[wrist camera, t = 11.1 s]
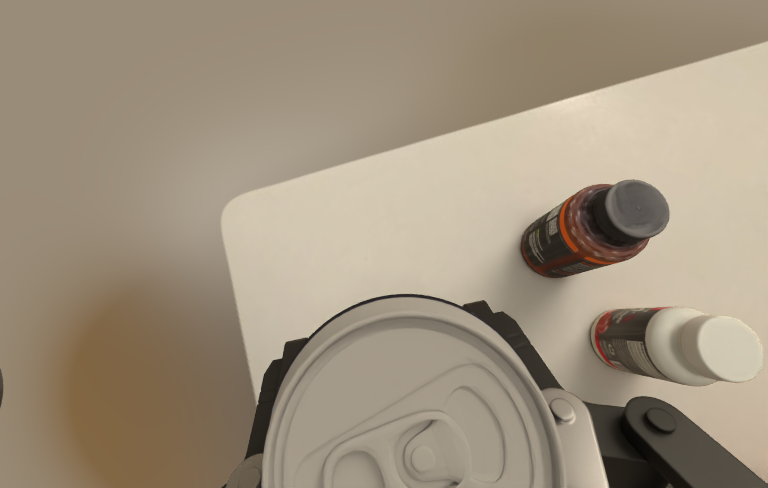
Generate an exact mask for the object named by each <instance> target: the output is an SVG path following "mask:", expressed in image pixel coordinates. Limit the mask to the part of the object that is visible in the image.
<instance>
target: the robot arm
mask: <svg viewBox="0 0 768 488" xmlns="http://www.w3.org/2000/svg"><path fill="white" fill-rule="evenodd" d="M463 308H465V309H467V310H469V311H471V312H473V313H474V314H476V315H478V316H479V317H481V318H482V319H484V320H485V321H486V322H488V323H489V324H490V325H491V326H493V327H494V328H495V329H496V330H497V331H498V332H499V333H501V334H502V335H503V336H504V337H505V338H506V340H507V341H508V342H509V343H510V344H511V345H512V346H513V347H514V349H515V350H516V351H517V353H518V354H519V355H520V357H521V358H522V360H523V361H524V363H525V364H526V366H527V368H528V369H529V371H530V373H531V374H532V376H533V378H534V381H535V383H536V384H537V386H538V387H539V389H540V391H541V392H542V394H543V396H544V398H545V400H546V402H547V404H548V406H549V408H550V410H551V413H552V415H553V417H554V420H555V423H556V426H557V429H558V432H559V435H560V439H561V442H562V447H563V453H564V458H565V463H566V471H567V488H609V487H611V488H768V484H767V483H765V482H764V481H763V480H762V479H761V478H759V477H758V476H757V475H756V474H755V473H753V472H752V471H751V470H750V469H749V468H747V467H746V466H745V465H744V464H743V463H742V462H740V461H739V460H738V459H737V458H736V457H734V456H733V455H732V454H731V453H730V452H728V451H727V450H726V449H725V448H724V447H722V446H721V445H720V444H719V443H718V442H716V441H715V440H714V439H713V438H712V437H710V436H709V435H708V434H707V433H706V432H704V431H703V430H702V429H701V428H700V427H698V426H697V425H696V424H695V423H694V422H692V421H691V420H690V419H689V418H688V417H686V416H685V415H684V414H683V413H682V412H680V411H679V410H678V409H676V408H675V407H673V406H672V405H670V404H668V403H666V402H664V401H662V400H659V399H656V398H653V397H647V396H640V397H635V398H633V399H631V400H629V402H628V403H627V405H626V407H618V406H608V405H598V404H591V403H588V402H584V401H582V400H580V399H579V398H578V397H577V396H575V395H573V394H572V393H570V392H568V391H565V390H564V389H563V388H562V387H561V386H560V384H559V383H558V382H557V380H556V379H555V377H554V376H553V375H552V373H551V372H550V370H549V369H548V367H547V366H546V364H545V363H544V362H543V360H542V359H541V357H540V356H539V354H538V353H537V351H536V350H535V348H534V347H533V346H532V345H531V344H530V341H529V340H528V338H527V337H526V335H524V333H523V331H522V330H521V328H520V327H519V325H518V324H517V322H516V321H515V320H514V319H512V318H511V317H510V316H508V315H507V314H505V313H504V312H503V311H502V312H497V313H493V312H492V310H491V309H490V307H489V306H488V304H487V303H486V301H484V300H482V301H477V302H473V303H468V304H464V305H463ZM307 339H308V338H302V339H297V340H293V341H288V342H286V343H285V346H284V352H283V358H282V359H277V360H273V361H272V363H271V364H270V366H269V368H268V369H267V371H266V372H265V374H264V378H263V382H262V387H261V392H260V396H259V400H258V403H259V404H258V405H257V409H256V414H255V419H254V423H253V427H252V432H251V436H250V441H249V445H248V450H247V454H246V457H245V460H244V461H243V462H242V463H241V464H240V465H239V466H238V467H237V468H236V469H235V471H234V472H233V474H232V475H231V477H230V478H229V480H228V483H227V484H225V485H224V486H223V487H222V488H262V460H263V453H264V447H265V441H266V436H267V431H268V424H269V417H270V413H271V409H272V405H273V401H274V398H275V395H276V392H277V389H278V387H279V384H280V382H281V380H282V377H283V375H284V373H285V371H286V369H287V368H288V366H289V364H290V362H291V361H292V359H293V358H294V356H295V355H296V353H297V352H298V350H299V349H300V348H301V346H302V345H303V344H304V343H305V342H306V341H307Z"/></svg>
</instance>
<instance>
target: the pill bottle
mask: <svg viewBox="0 0 768 488" xmlns="http://www.w3.org/2000/svg"><path fill="white" fill-rule="evenodd" d="M591 340H592V345H593V348H594V350H595V352H596V353H597V355H598V356H599V357H600V358H601V359H602V361H604V362H605V363H606V364H607V365H609V366H611V367H613V368H615V369H618V370H622V371H626V372H630V373H634V374H639V375H643V376H648V377H652V378H656V379H661V380H666V381H670V382H675V383H679V384H683V385H689V386H706V385H710V384H713V383H715V382H717V381H727V382H734V383H741V382H746V381H749V380H751V379H753V378H755V377H756V376H757V375H758V373H759V372H760V371H761V369H762V366H763V362H764V352H763V348H762V345H761V342H760V340H759V339H758V337H757V335H756V334H755V333H754V331H753V330H752V329H751V328H750V327H748V326H747V325H746V324H745V323H743V322H741V321H740V320H738V319H735V318H732V317H728V316H716V315H706V314H705V313H703V312H700V311H698V310H695V309H692V308H687V307H657V308H637V309H616V310H609V311H606V312H604V313H602V314H601V315H600V316H599V317H598V318H597V319H596V320H595V322H594V324H593V326H592V329H591Z"/></svg>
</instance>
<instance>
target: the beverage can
mask: <svg viewBox="0 0 768 488" xmlns="http://www.w3.org/2000/svg"><path fill="white" fill-rule="evenodd" d="M262 488H567V471H566V463H565V458H564V453H563V447H562V442H561V439H560V435H559V432H558V429H557V426H556V423H555V420H554V417H553V415H552V413H551V410H550V408H549V406H548V404H547V402H546V400H545V398H544V396H543V394H542V392H541V391H540V389H539V387H538V386H537V384H536V383H535V381H534V378H533V376H532V374H531V373H530V371H529V369H528V368H527V366H526V364H525V363H524V361H523V360H522V358H521V357H520V355H519V354H518V353H517V351H516V350H515V349H514V347H513V346H512V345H511V344H510V343H509V342H508V341H507V340H506V338H505V337H504V336H503V335H502V334H501V333H499V332H498V331H497V330H496V329H495V328H494V327H493V326H491V325H490V324H489V323H488V322H486V321H485V320H484V319H482V318H481V317H479V316H478V315H476V314H474V313H473V312H471V311H469V310H467V309H465V308H463V307H461V306H459V305H457V304H454V303H452V302H449V301H446V300H443V299H439V298H435V297H431V296H425V295H416V294H396V295H387V296H381V297H377V298H373V299H369V300H366V301H363V302H360V303H358V304H356V305H353V306H351V307H349V308H347V309H345V310H343V311H342V312H340V313H338V314H337V315H335V316H334V317H332V318H331V319H329V320H328V321H327V322H325V323H324V324H323V325H322V326H321V327H319V328H318V329H317V330H316V331H315V332H314V333H313V334H312V335H311V336H310V337H309V338H308V339H307V341H306V342H305V343H304V344H303V345H302V346H301V348H300V349H299V350H298V352H297V353H296V355H295V356H294V358H293V359H292V361H291V362H290V364H289V366H288V368H287V369H286V371H285V373H284V375H283V377H282V380H281V382H280V384H279V387H278V389H277V392H276V395H275V398H274V401H273V405H272V409H271V413H270V417H269V424H268V431H267V436H266V441H265V447H264V453H263V460H262Z"/></svg>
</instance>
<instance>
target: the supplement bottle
mask: <svg viewBox="0 0 768 488" xmlns="http://www.w3.org/2000/svg"><path fill="white" fill-rule="evenodd" d="M668 221H669V207H668V204H667V202H666V199H665V198H664V196H663V195H662V194H661V193H660V192H659V191H658V190H657V189H656V188H655V187H653V186H652V185H650V184H648V183H646V182H643V181H639V180H626V181H621V182H619V183H617V184H615V185H610V184H598V185H592V186H589V187H586V188H584V189H582V190H580V191H579V192H577V193H576V194H575V195H573V196H571V197H570V198H568V199H567V200H566V201H564V202H563V203H561V204H560V205H558V206H557V207H555V208H554V209H552V210H551V211H550V212H548V213H547V214H545V215H544V216H542V217H541V218H539V219H538V220H536V221H535V222H534V223H533V224H531V225H530V226H529V227H528V228H527V230H526V231H525V233H524V235H523V239H522V252H523V255H524V258H525V259H526V261H527V263H528V264H529V265H530V266H531V267H532V268H533V269H534V270H535V271H537V272H538V273H540V274H542V275H545V276H548V277H554V278H558V277H566V276H570V275H574V274H578V273H581V272H585V271H589V270H593V269H596V268H600V267H604V266H608V265H611V264H615V263H618V262H622V261H625V260H628V259H630V258H632V257H634V256H636V255H637V254H638V253H640V252H641V251H642V250H643V249H644V248H645V246H646V245H647V243H648V241H649V239H650V238H651V237H653V236H655V235H657V234H659V233H660V232H662V231H663V229H664V228H665V227H666V225H667V223H668Z"/></svg>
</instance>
